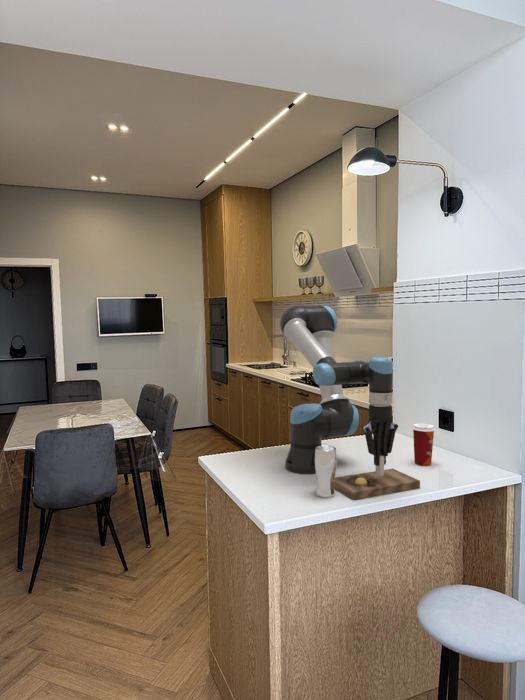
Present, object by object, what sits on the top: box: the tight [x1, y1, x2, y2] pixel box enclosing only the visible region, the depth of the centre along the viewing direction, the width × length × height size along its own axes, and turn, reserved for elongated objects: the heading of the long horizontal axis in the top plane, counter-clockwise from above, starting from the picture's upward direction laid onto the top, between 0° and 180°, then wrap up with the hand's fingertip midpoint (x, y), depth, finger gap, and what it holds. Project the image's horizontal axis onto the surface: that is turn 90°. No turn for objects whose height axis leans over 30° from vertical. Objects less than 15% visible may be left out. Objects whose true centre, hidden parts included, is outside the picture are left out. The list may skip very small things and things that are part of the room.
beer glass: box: [315, 444, 338, 499], centre depth 156 cm, size 7×7×15 cm
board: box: [334, 468, 421, 501], centre depth 163 cm, size 26×14×2 cm, turn 114°
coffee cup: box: [412, 422, 436, 467], centre depth 188 cm, size 8×8×15 cm
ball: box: [355, 477, 367, 485], centre depth 161 cm, size 4×4×4 cm
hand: (379, 474), depth 163 cm, fingers closed
